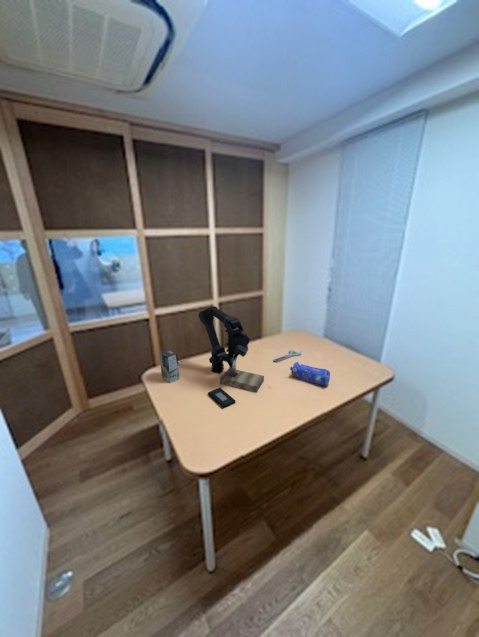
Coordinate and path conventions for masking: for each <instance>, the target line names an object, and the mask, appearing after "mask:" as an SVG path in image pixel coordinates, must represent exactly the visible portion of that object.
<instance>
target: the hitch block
mask: <svg viewBox="0 0 479 637" xmlns="http://www.w3.org/2000/svg"><path fill="white" fill-rule="evenodd" d="M219 381H220V382H219V384H222V385H225V386H230V387H233V388H239V389H243V390H245V391H249V392H250V391H251V392H254V393H258V392H259V389H261V386H262V385H263V384H264V381H265V375H262V374H257V373H253V372H249V371H243V370H240V369H236V371H235V372H230V371H229V368H227V370H225V372H224V373H223V374H222V375H221V376H220V378H219Z"/></svg>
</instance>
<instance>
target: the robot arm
mask: <svg viewBox="0 0 479 637" xmlns="http://www.w3.org/2000/svg"><path fill="white" fill-rule="evenodd" d="M197 316H198V318H199V320H200V322H201V323H202V324H203V325H204V327H205V329H206V333H207V336H208V339H209V342H210V346H211V348H212V349H211V353H210V355H211V356H210V357H209V359H208V360H209V363H210V364H211V370H210V372H211V373H215V374H221V373H222V372H223V371H225V367H224V363H225V362H226V363H227V364H228V366H230V368H232V366H233V360H234V359H235V358H234V357H236V360H237V359H238V356H241V357H242V358H243V357H244V358H245V356H246V355H247V353H248V351H249V346H248V345H249V344H250V337H249V336H247V335H248V334H247V333H244V328H243V326H242V324H241V321H240V319H239V318H237V317H234V316H230V315H228V314H227V313H225V312H224V311H222V310H221V309H219V307H217V306H215V305H214V306H210V307H208V308H205V309H203V310H200V311H199V313H198V315H197ZM215 318H216V319H217V320H218V321H220V322H221V323H223V326H224V328H225V330H224V332H226V333H227V342H226V343H225V345H226V346H227V348H225V347H224V346H223V347H222V346H221V344H220V342H219V338H218V334H217V331H216V329H215V326H214V324H213V323H214V319H215Z"/></svg>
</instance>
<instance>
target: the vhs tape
mask: <svg viewBox="0 0 479 637" xmlns="http://www.w3.org/2000/svg"><path fill="white" fill-rule="evenodd" d="M207 395H208V396H209V397H210V399H212V400H213V401H214V402H215V403H216V404H218V406H219V407H220V408H222V409H226V408H228V407H230V406H232V405H236V399H235V398H233V397H232V396H231V395H230V394H228V392H226V391H225V390H224V389H223V388H221V387H218V388H216V389H212V390H210V391H208V392H207Z"/></svg>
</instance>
